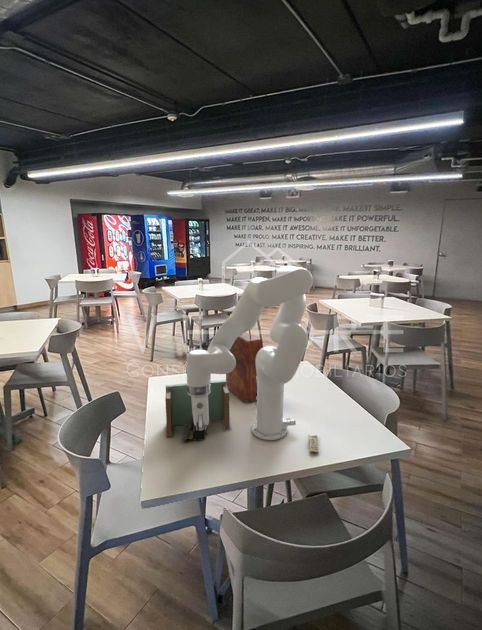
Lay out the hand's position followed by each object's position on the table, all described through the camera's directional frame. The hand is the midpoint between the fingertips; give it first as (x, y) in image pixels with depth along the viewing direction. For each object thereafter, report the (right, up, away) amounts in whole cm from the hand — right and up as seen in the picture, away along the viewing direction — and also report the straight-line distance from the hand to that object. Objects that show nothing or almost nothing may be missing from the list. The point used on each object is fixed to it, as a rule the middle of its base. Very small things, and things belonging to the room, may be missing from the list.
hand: (200, 438), depth 112 cm
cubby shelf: (-3, 0, +11) cm, 11 cm away
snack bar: (+38, -3, +1) cm, 38 cm away
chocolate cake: (-2, -1, +7) cm, 7 cm away
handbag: (+13, +6, +40) cm, 43 cm away
